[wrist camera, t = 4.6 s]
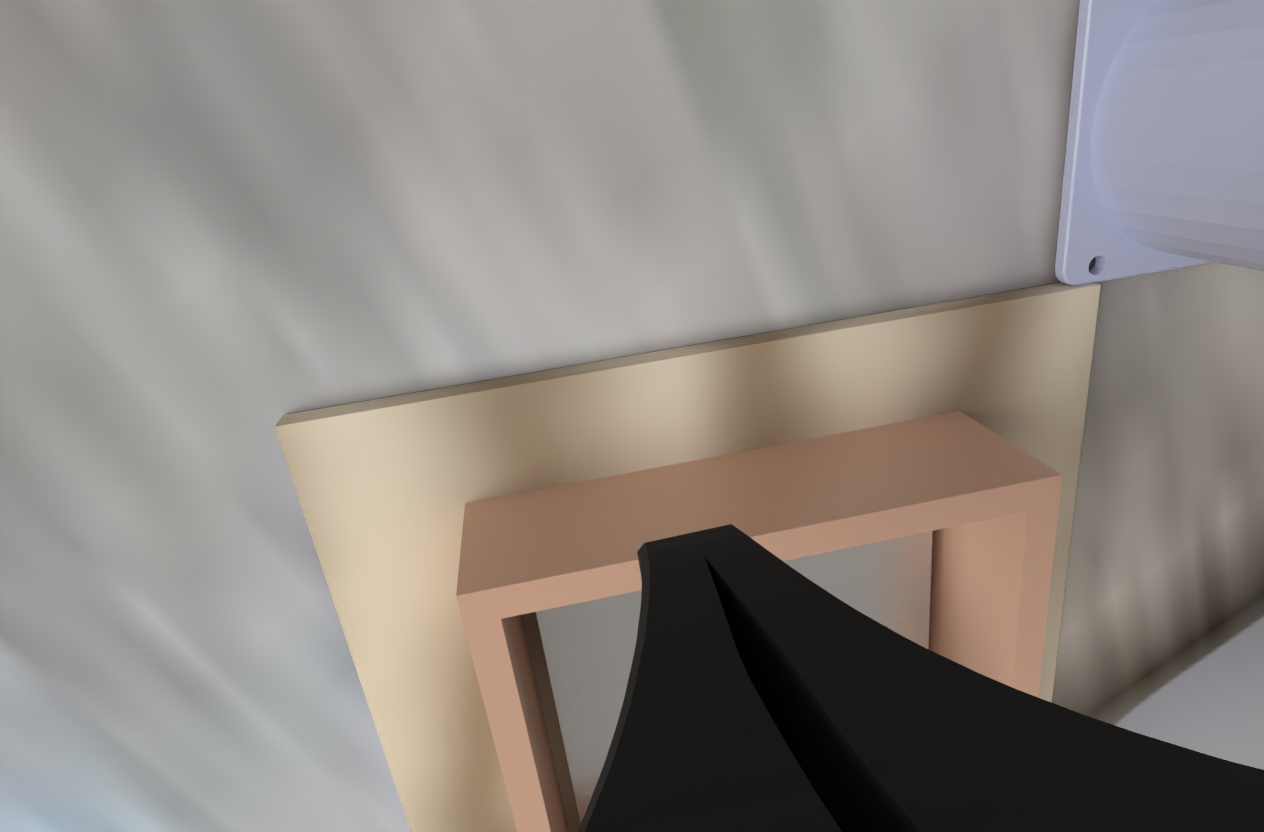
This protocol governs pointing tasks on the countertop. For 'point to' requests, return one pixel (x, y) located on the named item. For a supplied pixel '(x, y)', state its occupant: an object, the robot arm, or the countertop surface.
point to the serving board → (622, 443)
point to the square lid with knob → (607, 631)
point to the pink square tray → (784, 525)
